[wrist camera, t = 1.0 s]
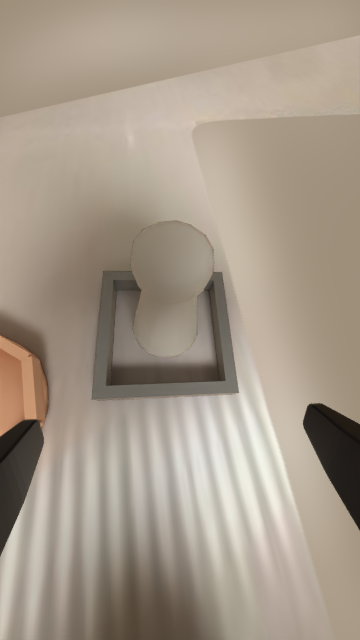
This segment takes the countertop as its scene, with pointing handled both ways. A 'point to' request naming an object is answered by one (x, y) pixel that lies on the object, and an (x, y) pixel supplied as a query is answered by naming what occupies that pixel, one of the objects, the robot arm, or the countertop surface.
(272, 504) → the countertop surface
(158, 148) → the countertop surface
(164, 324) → the salt shaker
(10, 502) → the robot arm
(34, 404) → the terracotta dish
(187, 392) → the charcoal tray
